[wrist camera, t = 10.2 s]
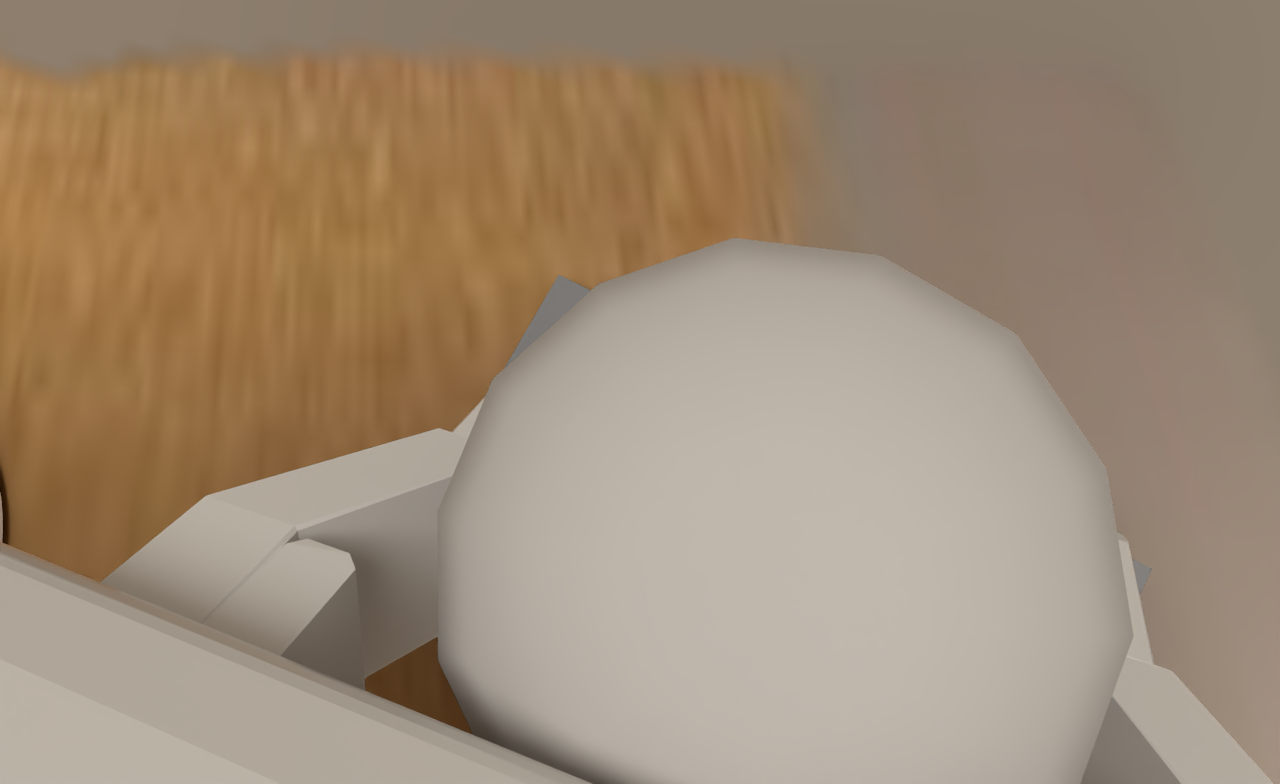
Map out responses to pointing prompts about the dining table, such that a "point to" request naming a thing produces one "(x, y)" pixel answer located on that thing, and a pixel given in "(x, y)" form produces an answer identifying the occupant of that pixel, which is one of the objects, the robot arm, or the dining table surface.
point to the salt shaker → (781, 537)
